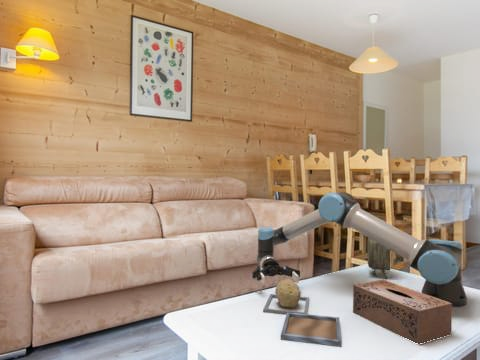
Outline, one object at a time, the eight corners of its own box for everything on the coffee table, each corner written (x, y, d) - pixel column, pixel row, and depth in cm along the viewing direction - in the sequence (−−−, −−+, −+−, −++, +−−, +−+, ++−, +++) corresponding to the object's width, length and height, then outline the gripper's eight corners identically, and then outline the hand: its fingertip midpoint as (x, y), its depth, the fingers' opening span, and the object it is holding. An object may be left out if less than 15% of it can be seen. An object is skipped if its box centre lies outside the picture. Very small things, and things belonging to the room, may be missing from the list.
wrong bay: (309, 300, 133) (309, 297, 133) (306, 316, 118) (306, 313, 118) (270, 296, 137) (270, 294, 137) (263, 312, 122) (263, 309, 122)
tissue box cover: (352, 313, 122) (353, 284, 122) (382, 306, 128) (383, 279, 128) (418, 346, 98) (419, 311, 98) (451, 336, 105) (451, 303, 104)
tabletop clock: (390, 280, 159) (391, 225, 158) (369, 278, 161) (369, 225, 161) (386, 272, 172) (386, 221, 172) (367, 270, 175) (367, 221, 175)
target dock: (339, 321, 114) (339, 317, 114) (341, 346, 97) (341, 341, 97) (287, 316, 118) (287, 312, 118) (280, 339, 102) (280, 334, 101)
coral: (302, 282, 133) (301, 279, 124) (299, 310, 129) (298, 308, 120) (278, 278, 135) (275, 274, 126) (274, 305, 132) (271, 304, 123)
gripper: (296, 273, 160) (311, 288, 139) (242, 275, 157) (249, 290, 136) (296, 257, 159) (311, 269, 138) (242, 258, 156) (249, 271, 135)
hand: (280, 280), depth 137 cm, fingers open, 13 cm apart
